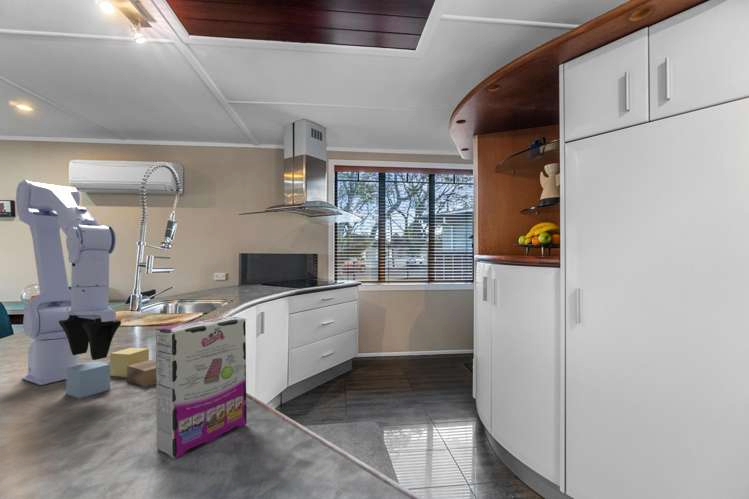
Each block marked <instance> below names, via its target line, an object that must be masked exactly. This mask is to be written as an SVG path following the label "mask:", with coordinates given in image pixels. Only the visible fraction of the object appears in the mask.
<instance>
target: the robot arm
mask: <svg viewBox="0 0 749 499" xmlns="http://www.w3.org/2000/svg"><path fill="white" fill-rule="evenodd" d="M15 195H16V196H15V203H16V204H15V205H16V210H17V211H16V212H17V216H18V217H19V219H18V220H19V221H20V222H22V223H23V224H27V225H28V226H29V230H30V233H31V234H30V235H31V238H32V245H33V252H34V258H35V266H36V275H37V280H38V288H39V294H37V295H35V296H34V297H33V298H31V299H29V300H28V301H27V302H26V304H25V306H24V308H23V320H22V321H23V322H22V324H23V325H22V326H23V330H24V331H23V332H24V335H26V336H27V337H28V338H29V339H33V341H31V343H30V344H29V346H28V349H27V350H28V352H27V354H28V355H27V357H28V358H27V374H25V375H22V376H21V379H23V380H26V381H28V382H31V383H32V384H33V383H34V384H36V385H40V386H42V385H43V386H45V385H47V384H52V383H56V382H59V381H63V380H66V378H67V368H68V367H73V366H77V365H79V361H80V360H79V359H80V358H79V356H80V355H81V354H82V355H83V354H87V352H88V349H89V352H90V357H91V360H92V361H95V360H96V361H98V360H101V359H106V358H107V357H108V354H109V351H110V346H111V344H112V341H113V338H114V336H115V334H116V332H117V330H118V328H119V327H120V326H121V325H122V320H121V319H120V320H119V319H117V317H116V316H117V315H116V314H117V310H116V309H112V308H111V307H109V303H110V302H109V300H110V298H109V297H110V296H109V295H110V294H109V293H110V290H109V289H110V288H109V287H110V286H109V285H110V255H111V254H112V253H113V252H114V250H115V247H116V242H117V241H116V240H117V238H116V232H115V230H114V228H113V227H112V226H111V225H101V224H100V223H99V221H98V220H97V219H96V218H95V217H94V216H93V214H92V213H91V212H90V211H89V210H88V209H87V208H86V207H84V206H80V202H81V196H80V192H79V190H78V189H77V188H76V187H75V186H63V185H59V184H57V185H56V184H51V183H45V182H44V183H42V182H35V181H29V180H27V179H23V180H21V181H19V183H18V185H17V187H16V192H15ZM61 230H62V232H63V233H64V235H65V236H66V240H65V245H66V248H67V253H68V258H67V260H68V263H69V264H71V270H70V271H71V273H70V274H71V279H70V280H71V283H70V284H71V285H70V288H69V280H68V276H67V268H66V262H65V256H64V251H63V250H64V249H63V245H62V238H61V237H62V236H61V232H60V231H61Z"/></svg>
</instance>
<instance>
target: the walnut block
mask: <svg viewBox="0 0 749 499" xmlns="http://www.w3.org/2000/svg"><path fill="white" fill-rule="evenodd" d="M126 382H128V383H131V384H134V385H137V386H141V387H144V388H146V387H149V386H152V385H157V380H156V358H152V359H149V361H145V362H141V363H136V364H132V365H128V366H127V377H126Z"/></svg>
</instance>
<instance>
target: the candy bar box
mask: <svg viewBox="0 0 749 499" xmlns="http://www.w3.org/2000/svg"><path fill="white" fill-rule="evenodd" d="M246 329H247V328H246V318H244V317H237V316H231V315H230V316H229V315H228V316H223V317H222V316H221V317H216V318H211V319H205V320H200V321H193V322H187V323H183V324H176V325H169V326H165V327H164V326H163V327H159V328H156V329H155V345H156V346H155V350H156V352H155V353H156V356H155V359H156V380H157V383H156V388H155V389H156V390H155V391H156V397H155V399H156V400H155V401H156V449H157V451H159V452H160V453H162V454H164V455H166V456H168V457H169V458H172V459H173V460H176V459H179V458H181V457H183V456H185V455H187V454H189V453H192V452H194V451H195V450H197V449H199V448H202V447H204V446H206V445H207V444H209V443H212V442H213V441H216V440H218V439H220V438H222V437H223V436H226V435H228V434H230V433H231V432H234V431H235V430H238V429H240V428H242V427H244V426H246V425H247V344H246V342H247V341H246V340H247V338H246V335H247V334H246V333H247V332H246V331H247V330H246ZM243 425H244V426H243ZM241 426H242V427H241ZM239 427H240V428H239ZM237 428H238V429H237Z"/></svg>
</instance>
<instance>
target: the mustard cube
mask: <svg viewBox="0 0 749 499" xmlns="http://www.w3.org/2000/svg"><path fill="white" fill-rule="evenodd" d="M149 350H150V349H149V348H142V347H141V348H139V347H129V348H125V349H121V350H117V351H114V352H111V353H110V363H109V364H110V377H111V376H112V377H122V378H127V366H128V365H132V364H136V363H141V362H145V361H149V360H150V359H149V358H150V357H149V356H150V351H149Z"/></svg>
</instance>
